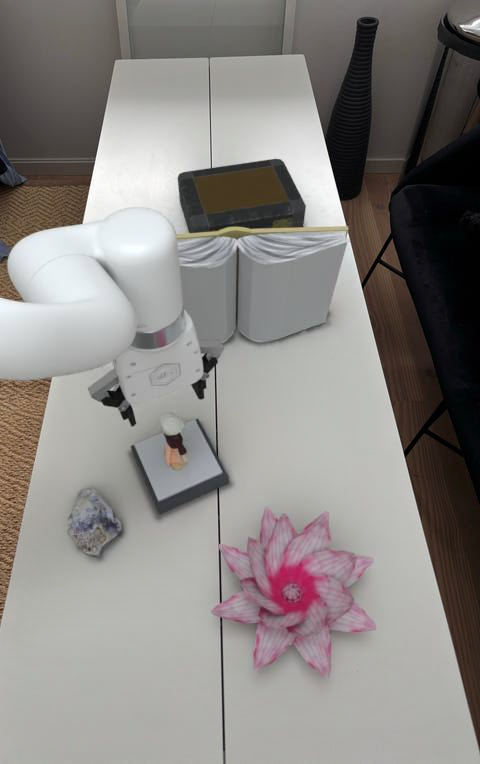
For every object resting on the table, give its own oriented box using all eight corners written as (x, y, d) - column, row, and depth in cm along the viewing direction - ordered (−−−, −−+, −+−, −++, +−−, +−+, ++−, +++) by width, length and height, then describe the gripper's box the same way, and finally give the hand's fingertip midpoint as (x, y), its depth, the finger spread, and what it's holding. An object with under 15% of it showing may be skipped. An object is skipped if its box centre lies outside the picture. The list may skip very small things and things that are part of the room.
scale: (159, 515, 85) (156, 507, 82) (132, 453, 91) (129, 444, 89) (228, 483, 88) (228, 475, 85) (198, 425, 94) (197, 416, 92)
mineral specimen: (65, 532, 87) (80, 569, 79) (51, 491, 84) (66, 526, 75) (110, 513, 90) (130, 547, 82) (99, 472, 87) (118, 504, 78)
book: (324, 307, 110) (346, 219, 88) (330, 340, 106) (355, 257, 84) (142, 319, 108) (119, 233, 86) (142, 353, 105) (118, 272, 83)
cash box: (279, 183, 134) (281, 154, 127) (305, 236, 122) (308, 208, 116) (178, 198, 130) (175, 169, 124) (195, 255, 119) (193, 226, 112)
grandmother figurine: (153, 450, 88) (142, 408, 78) (172, 437, 89) (164, 393, 79) (181, 484, 85) (174, 445, 74) (201, 469, 86) (196, 429, 76)
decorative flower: (357, 529, 84) (378, 488, 71) (373, 688, 71) (402, 671, 59) (217, 525, 84) (214, 484, 72) (209, 683, 72) (204, 666, 59)
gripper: (82, 369, 55) (111, 451, 69) (236, 315, 60) (234, 402, 74) (61, 319, 59) (93, 406, 73) (208, 272, 64) (211, 362, 78)
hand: (164, 404), depth 73 cm, fingers open, 9 cm apart
